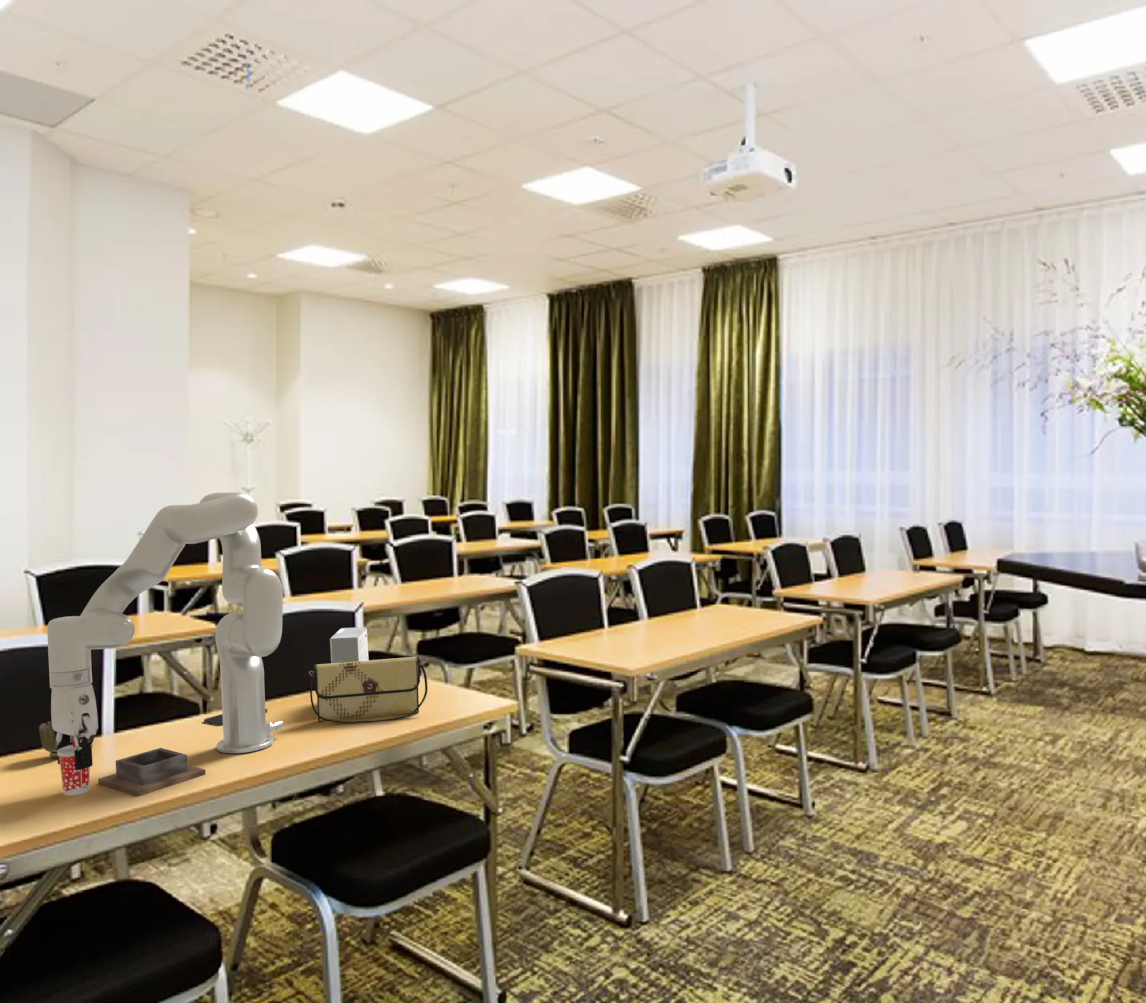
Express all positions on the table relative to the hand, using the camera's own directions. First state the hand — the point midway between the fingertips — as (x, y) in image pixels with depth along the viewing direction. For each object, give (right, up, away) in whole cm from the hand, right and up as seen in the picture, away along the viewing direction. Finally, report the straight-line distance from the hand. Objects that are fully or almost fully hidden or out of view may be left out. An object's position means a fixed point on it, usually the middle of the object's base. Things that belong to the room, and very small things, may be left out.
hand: (75, 764), depth 183 cm
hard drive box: (+40, -3, +66) cm, 77 cm away
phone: (+12, -4, +55) cm, 56 cm away
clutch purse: (+49, -3, +49) cm, 70 cm away
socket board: (+13, -5, +7) cm, 15 cm away
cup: (-17, -6, +24) cm, 30 cm away
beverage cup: (0, -6, 0) cm, 6 cm away
